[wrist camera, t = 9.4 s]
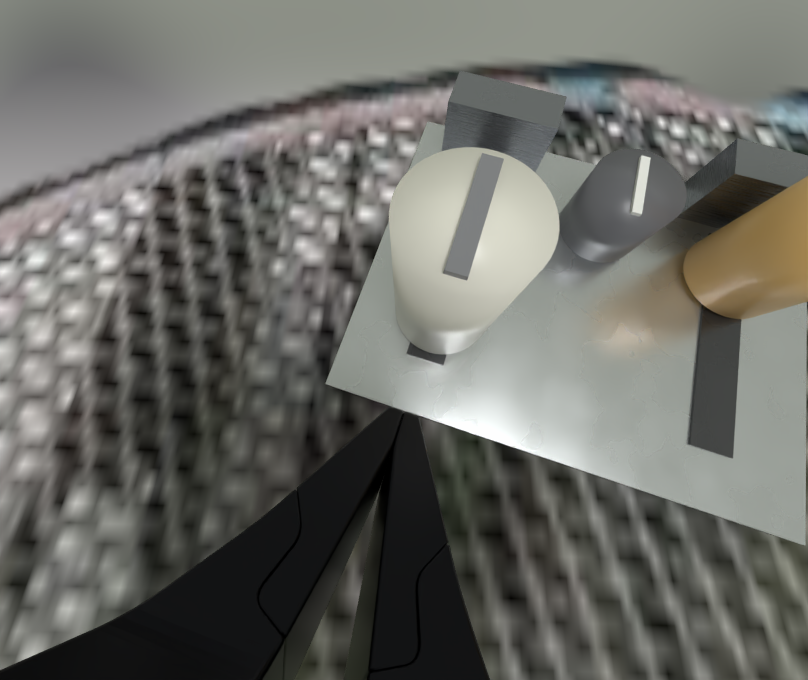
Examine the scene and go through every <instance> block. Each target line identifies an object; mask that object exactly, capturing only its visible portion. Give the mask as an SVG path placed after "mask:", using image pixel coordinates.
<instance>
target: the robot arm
mask: <svg viewBox="0 0 808 680" xmlns="http://www.w3.org/2000/svg"><path fill="white" fill-rule="evenodd" d="M402 416H403V417H402ZM401 419H402V420H401ZM387 464H388V465H387ZM386 467H387V468H386ZM383 477H384V478H383ZM382 480H383V481H382ZM381 483H382V484H381ZM380 486H381V488H380ZM379 489H380V491H379ZM378 492H379V496H378V500H377V506H376V511H375V516H374V522H373V527H372V532H371V537H370V543H369V548H368V553H367V559H366V564H365V569H364V575H363V580H362V585H361V590H360V596H359V601H358V606H357V612H356V617H355V622H354V628H353V633H352V638H351V643H350V649H349V654H348V659H347V665H346V670H345V675H344V680H490V678H489V675H488V672H487V670H486V667H485V664H484V661H483V658H482V655H481V652H480V649H479V646H478V643H477V640H476V637H475V634H474V631H473V628H472V625H471V622H470V619H469V615H468V612H467V609H466V606H465V603H464V600H463V596H462V593H461V589H460V585H459V582H458V578H457V574H456V570H455V566H454V562H453V558H452V554H451V550H450V546H449V545H448V544H447V543H448V538H447V533H446V529H445V525H444V521H443V516H442V512H441V508H440V504H439V499H438V495H437V491H436V487H435V482H434V478H433V474H432V470H431V465H430V461H429V457H428V453H427V448H426V444H425V440H424V436H423V431H422V427H421V423H420V419H419V417H418V416H417V415H415V414H412V413H409V412H404V414H403V411H402V410H400V409H396V408H393V407H388V408H387V409H386V410H385V411H384V412H383V413H381V414H380V415H379V416H378V417H377V418H376V419H375V420H373V421H372V422H371V423H370V424H369V425H368V426H367V427H365V428H364V429H363V430H362V431H361V432H360V433H359V434H358V435H356V436H355V437H354V438H353V439H352V440H351V441H350V442H348V443H347V444H346V445H345V446H344V447H343V448H342V449H340V450H339V451H338V452H337V453H336V454H335V455H334V456H332V457H331V458H330V459H329V460H328V461H327V462H326V463H325V464H323V465H322V466H321V467H320V468H319V469H318V470H317V471H315V472H314V473H313V474H312V475H311V476H310V477H309V478H307V479H306V480H305V481H304V482H303V483H302V484H301V485H299V486H298V487H297V490H294V491H292V492H291V493H290V494H289V495H288V496H287V497H286V498H284V499H283V500H282V501H281V502H280V503H279V504H277V505H276V506H275V507H274V508H273V509H271V510H270V511H269V512H268V513H267V514H265V515H264V516H263V517H262V518H261V519H259V520H258V521H257V522H255V523H254V524H253V525H251V526H250V527H249V528H247V529H246V530H245V531H243V532H242V533H241V534H239V535H238V536H237V537H235V538H234V539H233V540H231V541H230V542H228V543H227V544H226V545H224V546H223V547H221V548H220V549H219V550H217V551H216V552H214V553H213V554H212V555H210V556H209V557H207V558H206V559H205V560H203V561H202V562H200V563H199V564H198V565H196V566H195V567H193V568H192V569H190V570H189V571H188V572H186V573H185V574H183V575H182V576H181V577H179V578H178V579H176V580H175V581H174V582H172V583H171V584H169V585H168V586H167V587H165V588H164V589H162V590H161V591H159V592H158V593H157V594H155V595H154V596H152V597H151V598H149V599H148V600H146V601H145V602H143V603H141V604H140V605H138V606H137V607H135V608H133V609H132V610H130V611H128V612H126V613H125V614H123V615H121V616H119V617H117V618H115V619H114V620H112V621H110V622H108V623H106V624H104V625H101V626H99V627H97V628H95V629H93V630H91V631H88V632H86V633H84V634H81V635H79V636H77V637H75V638H72V639H70V640H68V641H66V642H63V643H61V644H59V645H56V646H54V647H52V648H50V649H47V650H45V651H43V652H41V653H38V654H36V655H34V656H32V657H29V658H27V659H25V660H22V661H20V662H18V663H16V664H13V665H11V666H9V667H7V668H4V669H2V670H0V680H294V679H295V677H296V674H297V672H298V670H299V668H300V666H301V663H302V661H303V659H304V657H305V654H306V652H307V650H308V648H309V646H310V643H311V641H312V639H313V637H314V634H315V632H316V630H317V628H318V626H319V623H320V621H321V619H322V617H323V615H324V612H325V610H326V608H327V606H328V603H329V601H330V599H331V597H332V595H333V592H334V590H335V588H336V586H337V583H338V581H339V579H340V577H341V575H342V572H343V570H344V568H345V566H346V563H347V561H348V559H349V557H350V555H351V552H352V550H353V548H354V546H355V543H356V541H357V539H358V537H359V535H360V532H361V530H362V528H363V526H364V523H365V521H366V519H367V517H368V515H369V512H370V510H371V508H372V506H373V504H374V501H375V499H376V497H377V494H378Z"/></svg>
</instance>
